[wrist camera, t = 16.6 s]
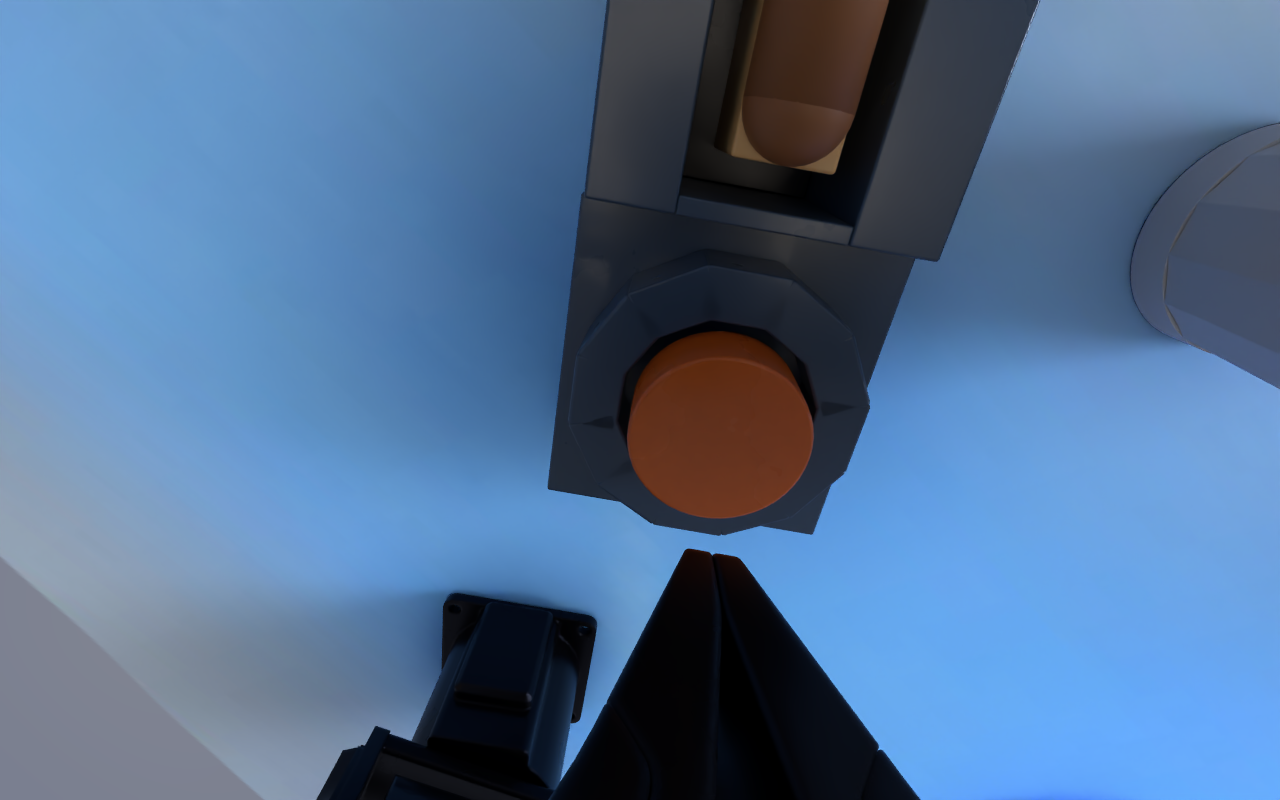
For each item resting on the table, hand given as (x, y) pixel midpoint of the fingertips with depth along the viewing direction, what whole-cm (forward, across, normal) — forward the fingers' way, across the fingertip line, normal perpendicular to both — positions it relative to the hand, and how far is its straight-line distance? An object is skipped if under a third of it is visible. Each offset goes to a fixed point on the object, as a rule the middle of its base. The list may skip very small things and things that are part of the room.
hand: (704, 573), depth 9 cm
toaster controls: (+11, 0, 0) cm, 11 cm away
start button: (+6, 0, 0) cm, 6 cm away
